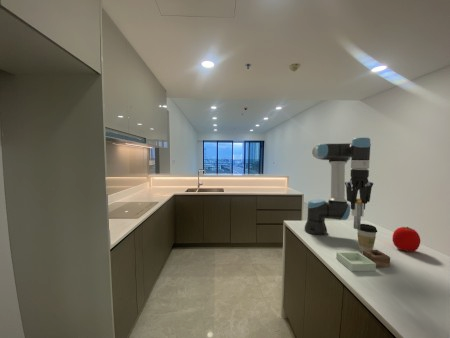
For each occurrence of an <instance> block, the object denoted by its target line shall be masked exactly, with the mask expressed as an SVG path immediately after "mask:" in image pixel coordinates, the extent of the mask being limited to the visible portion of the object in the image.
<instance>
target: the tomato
mask: <svg viewBox="0 0 450 338" xmlns="http://www.w3.org/2000/svg"><path fill="white" fill-rule="evenodd" d="M392 243H393V245H394V246H395V248H396V249H399V250H401V251H405V252H410V253H411V252H416V251H418V249H419V247H420V246H421V237H420V234H419V233H418V232H417V230H416V229H414V228H411V227H409V226H400V227H398V228H396V229H395V230H394V232H393V233H392Z"/></svg>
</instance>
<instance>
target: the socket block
mask: <svg viewBox="0 0 450 338" xmlns="http://www.w3.org/2000/svg"><path fill="white" fill-rule="evenodd" d="M362 255H364V256H365V257H367V258H368V259H370V260H371V261H373V262H374V263H376V268H390V267H391V257H390V256H389V255H387V254H386V253H383V252H382V251H380V250H378V249H373V250H363V252H362Z"/></svg>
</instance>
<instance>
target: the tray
mask: <svg viewBox="0 0 450 338" xmlns="http://www.w3.org/2000/svg"><path fill="white" fill-rule="evenodd" d="M335 259H336V260H337V261H338V262H340V263H341V264H342V265H343V266H344V267H346V268H347V269H349V271H350V272H376V270H377V269H376V268H377V267H376V263H374V262H373V261H371V260H370V259H368V258H367V257H365V256H364V255H363V253H362V252H360V251H336V256H335Z"/></svg>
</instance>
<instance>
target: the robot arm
mask: <svg viewBox="0 0 450 338" xmlns="http://www.w3.org/2000/svg"><path fill="white" fill-rule="evenodd" d="M371 144H372V143H371V139H370V137H354V138H353V139H352V141H351V143H349V142H347V143H318V144H317V145H316V146H314V147H313V148H312V152H311V153H312V156H313V157H314V158H316V159H317V160H322V161H328V163H329V165H331V166H330V169H331V170H330V198H329V199H328V201H326V199H320V198H319V199H318V198H316V199H312V200H311V199H310V200H309V201H308V202H307V219H306V222H305V224H304V231H305V232H306V233H308V234H310V235H316V236H325V235H328V229H327V225H326V220H325V219H327V220H337V221H338V220H339V221H346V220H348V219H349V216H350V213H351V216H352V217H354V216H355V217H357V203H356V199H358V193H359V199H362V204H361V218H362V217H364V215H365V213H364V211H365V210H366V204H368V203H370V200H371V195H372V188H373V185H374V183H373V182H372V181H369V179H368V178H369V176H370V175H369V174H370V170H369V169H370V157H371V146H372V145H371ZM350 160H351V161H350ZM348 161H350V169H351V170H350V180H348V181H345V180H346V178H345V177H346V176H345V175H346V164H348ZM345 188H346V190H345ZM345 192H346V193H345ZM345 196H346V197H345ZM348 202H349V203H350V204H349V203H348Z"/></svg>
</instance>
